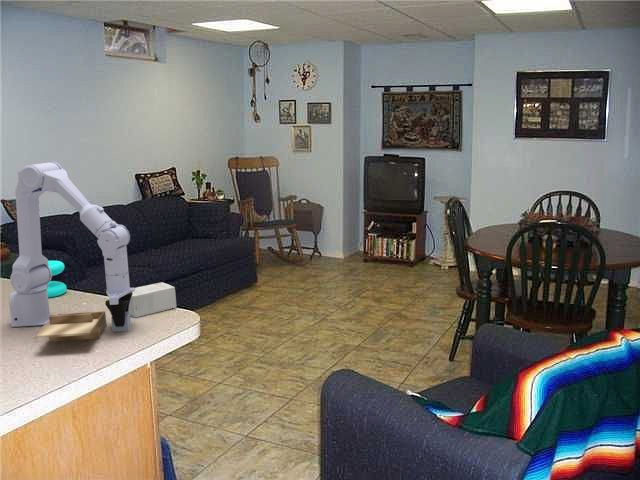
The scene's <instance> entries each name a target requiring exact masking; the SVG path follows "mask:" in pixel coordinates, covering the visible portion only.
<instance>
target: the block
mask: <svg viewBox="0 0 640 480" xmlns="http://www.w3.org/2000/svg"><path fill="white" fill-rule="evenodd" d="M131 326H132V321H131V315H130V312H125V324H124V326H122V327H116V326H115V324H114V321H113V318H112V316H111V328H112V329H111V330H112V332H113V331H115V332H128V331H130V329H131Z"/></svg>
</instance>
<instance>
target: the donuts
mask: <svg viewBox="0 0 640 480" xmlns="http://www.w3.org/2000/svg"><path fill="white" fill-rule="evenodd" d="M48 265H49V268H50V270H51V272H52V277H53V276H57V275H59V274H61V273H63V271H64V270H65V267H66V266H65V263H64V262H62V261H60V260H48ZM66 291H67V284H65V283H64V282H62V281H58V280H51V281H50V282H49V283H48V287H47V292H48V299H49V298H56V297H59V296H62V295H64V294H65V293H66Z"/></svg>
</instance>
